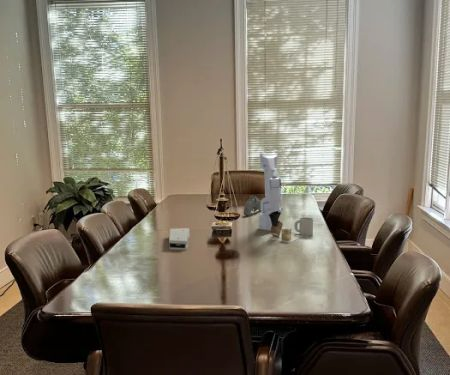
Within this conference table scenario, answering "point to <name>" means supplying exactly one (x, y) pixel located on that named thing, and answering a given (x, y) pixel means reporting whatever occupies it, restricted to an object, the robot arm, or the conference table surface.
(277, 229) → the walnut block
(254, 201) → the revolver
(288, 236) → the oak block
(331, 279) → the conference table surface
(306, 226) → the cup
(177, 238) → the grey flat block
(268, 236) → the mat
